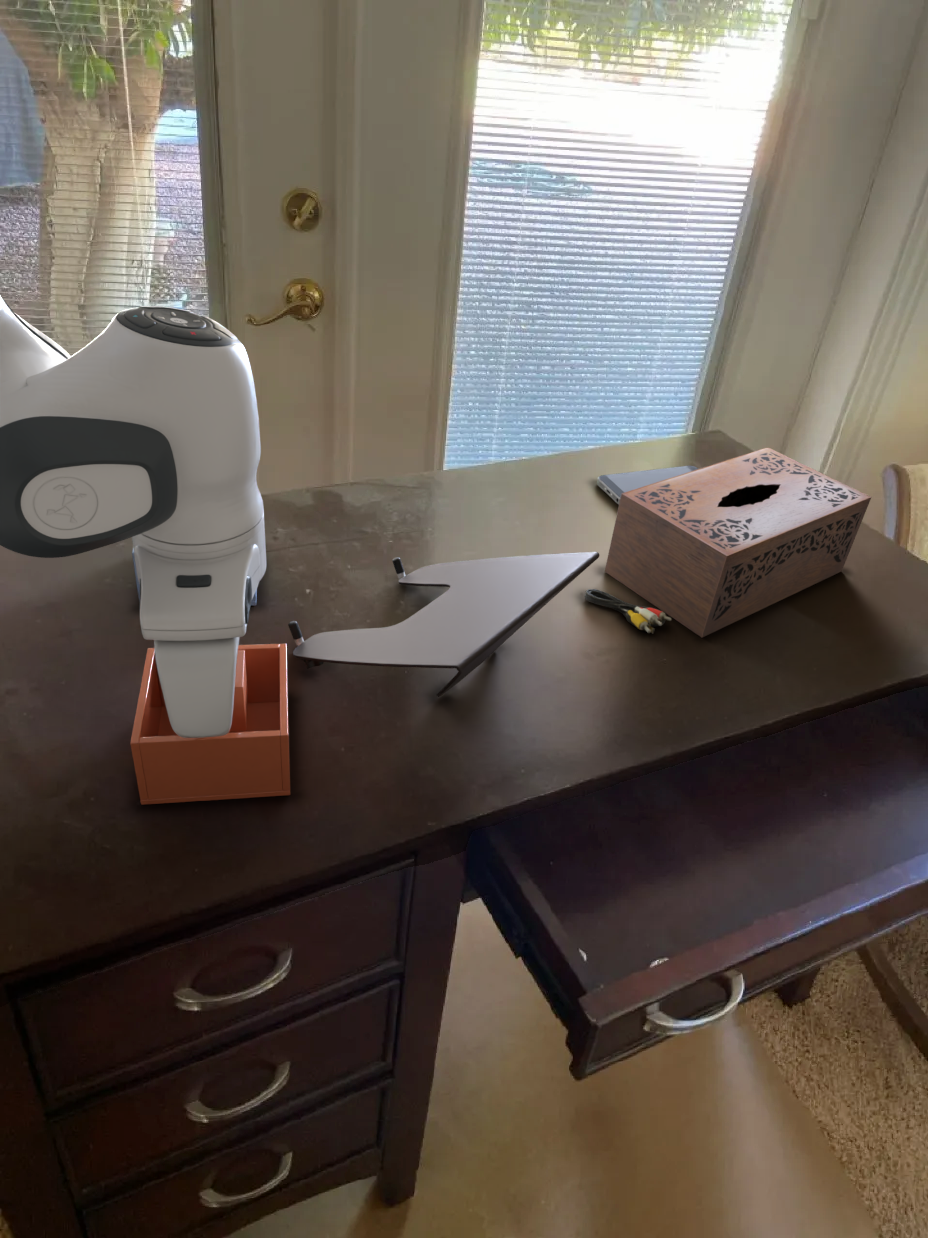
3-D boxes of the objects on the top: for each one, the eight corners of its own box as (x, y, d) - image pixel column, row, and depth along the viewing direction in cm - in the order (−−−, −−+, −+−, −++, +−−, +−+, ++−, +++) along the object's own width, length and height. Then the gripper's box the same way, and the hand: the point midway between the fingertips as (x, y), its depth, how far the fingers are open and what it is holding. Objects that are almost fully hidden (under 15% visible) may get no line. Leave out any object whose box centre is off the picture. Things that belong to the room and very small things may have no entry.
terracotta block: (186, 733, 69) (180, 689, 66) (191, 695, 72) (185, 652, 70) (246, 730, 70) (243, 686, 67) (247, 693, 73) (244, 650, 70)
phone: (622, 509, 113) (724, 496, 119) (624, 502, 113) (726, 489, 119) (593, 482, 119) (692, 470, 125) (595, 475, 118) (694, 464, 124)
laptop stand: (438, 620, 101) (414, 545, 97) (616, 619, 86) (594, 530, 83) (294, 725, 85) (260, 639, 82) (483, 746, 70) (449, 642, 67)
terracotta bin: (141, 805, 68) (130, 743, 64) (156, 707, 77) (147, 647, 73) (290, 795, 70) (288, 735, 66) (288, 701, 79) (286, 643, 75)
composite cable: (578, 598, 96) (582, 579, 95) (608, 586, 99) (613, 567, 97) (647, 646, 90) (652, 626, 89) (677, 631, 93) (682, 611, 91)
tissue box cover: (701, 637, 92) (726, 556, 86) (604, 571, 101) (621, 493, 95) (841, 571, 106) (871, 496, 100) (745, 518, 115) (767, 447, 109)
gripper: (167, 478, 69) (184, 621, 78) (135, 636, 53) (161, 796, 61) (250, 478, 71) (258, 619, 79) (243, 633, 54) (254, 790, 63)
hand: (216, 698), depth 70 cm, fingers closed on terracotta block, 4 cm apart
